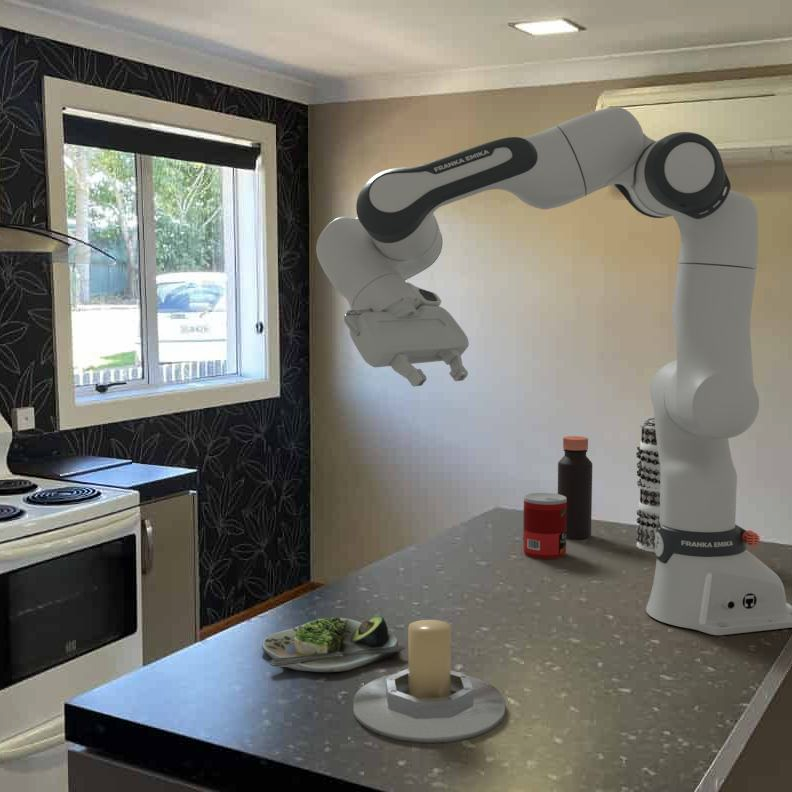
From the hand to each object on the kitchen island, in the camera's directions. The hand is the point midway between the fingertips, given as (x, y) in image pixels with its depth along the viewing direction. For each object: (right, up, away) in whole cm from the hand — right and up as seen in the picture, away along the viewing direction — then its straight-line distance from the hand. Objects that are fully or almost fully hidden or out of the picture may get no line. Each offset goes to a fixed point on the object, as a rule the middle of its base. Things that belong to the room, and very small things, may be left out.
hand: (442, 380), depth 136 cm
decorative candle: (+44, -32, +53) cm, 76 cm away
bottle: (+30, -31, +62) cm, 75 cm away
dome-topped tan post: (-2, -38, -19) cm, 43 cm away
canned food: (+22, -32, +48) cm, 62 cm away
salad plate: (-15, -38, 0) cm, 41 cm away
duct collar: (-2, -39, -19) cm, 44 cm away
